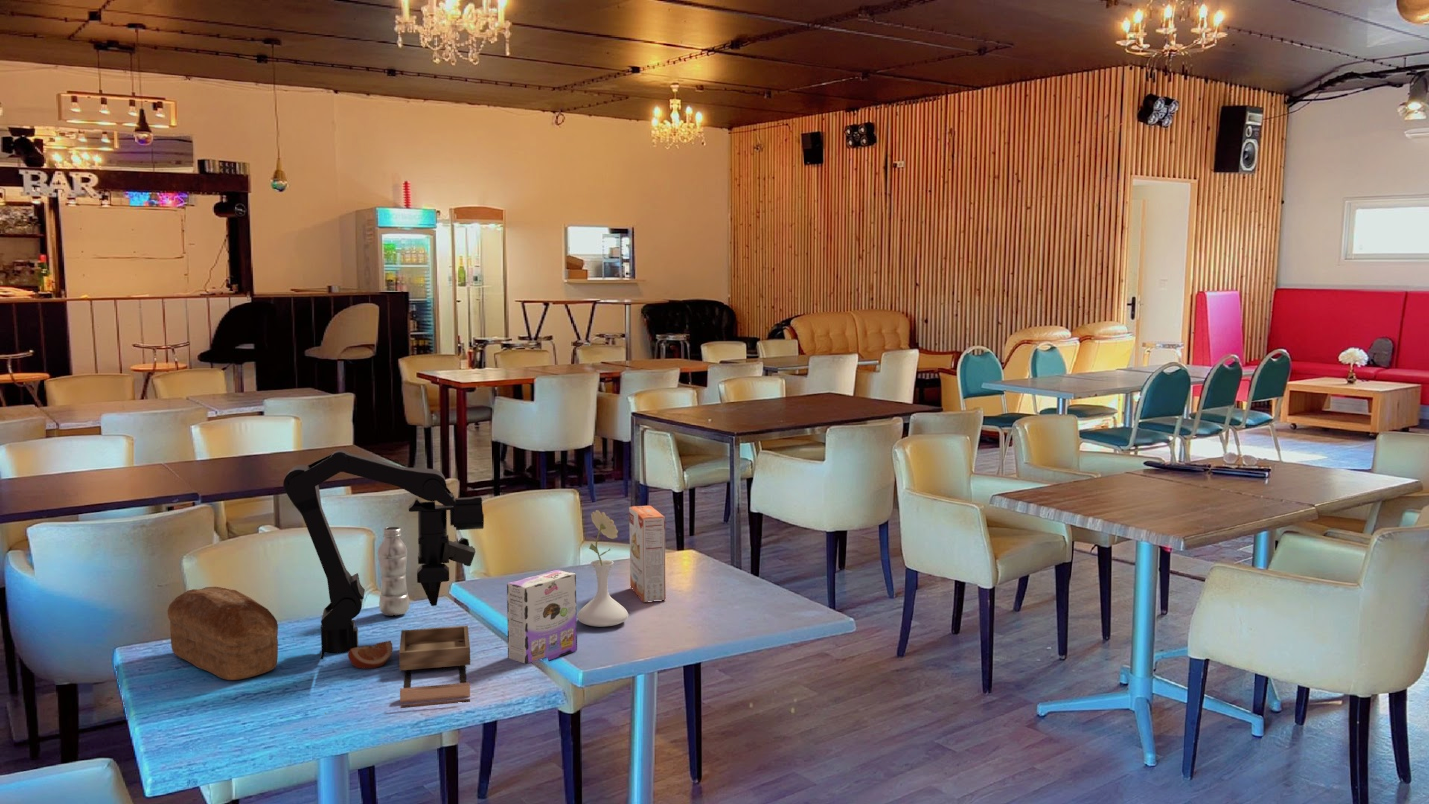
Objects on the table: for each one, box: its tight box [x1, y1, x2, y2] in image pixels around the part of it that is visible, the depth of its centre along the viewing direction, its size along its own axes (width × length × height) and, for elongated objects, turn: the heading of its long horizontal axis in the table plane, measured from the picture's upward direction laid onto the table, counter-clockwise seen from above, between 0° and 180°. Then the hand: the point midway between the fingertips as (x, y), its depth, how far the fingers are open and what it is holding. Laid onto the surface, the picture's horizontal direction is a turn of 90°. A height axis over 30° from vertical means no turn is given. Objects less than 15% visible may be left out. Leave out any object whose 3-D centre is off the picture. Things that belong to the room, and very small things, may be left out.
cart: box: [398, 625, 471, 671], centre depth 208 cm, size 13×14×4 cm
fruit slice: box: [347, 640, 393, 670], centre depth 206 cm, size 8×7×5 cm
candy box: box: [506, 569, 578, 665], centre depth 213 cm, size 14×6×16 cm, turn 141°
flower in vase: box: [577, 509, 629, 628], centre depth 236 cm, size 13×11×25 cm
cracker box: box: [628, 505, 667, 603], centre depth 258 cm, size 14×6×21 cm, turn 17°
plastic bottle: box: [377, 526, 410, 617], centre depth 241 cm, size 6×7×20 cm
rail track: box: [399, 665, 471, 709], centre depth 202 cm, size 12×28×3 cm, turn 15°
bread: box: [167, 586, 279, 681], centre depth 209 cm, size 12×28×14 cm, turn 50°
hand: (433, 605), depth 220 cm, fingers closed
